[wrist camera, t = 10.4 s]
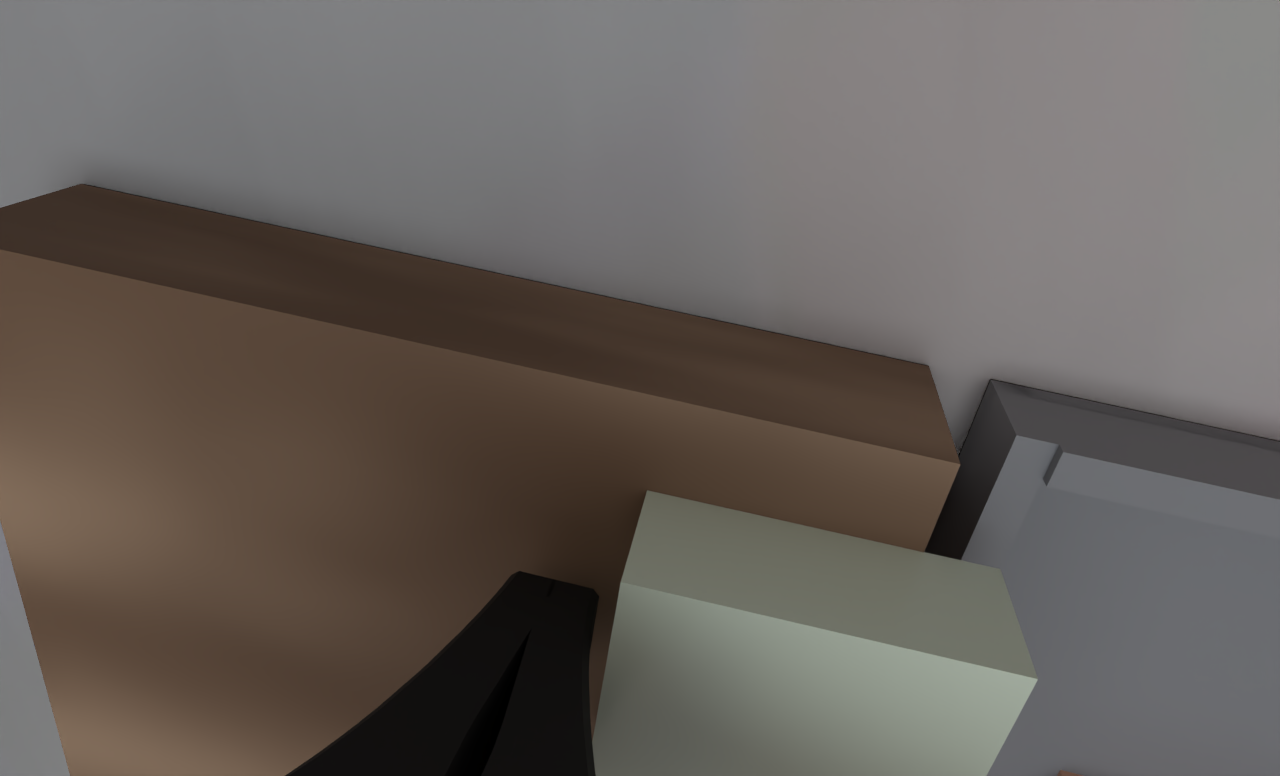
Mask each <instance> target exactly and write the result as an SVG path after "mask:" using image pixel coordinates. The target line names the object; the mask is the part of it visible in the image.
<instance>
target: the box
mask: <svg viewBox="0 0 1280 776" xmlns="http://www.w3.org/2000/svg"><path fill="white" fill-rule="evenodd" d="M959 461H960V464H961V465H960V467H959V469H958V472H957V474H956V477H955V479H954V482H953V484H952V486H951V489H950V491H949V494H948V496H947V498H946V501H945V503H944V506H943V508H942V510H941V513H940V515H939V518H938V520H937V522H936V525H935V527H934V530H933V532H932V535H931V537H930V539H929V542H928V544H927V547H926V549H925V551H924V552H926V553H930V554H935V555H939V556H944V557H948V558H953V559H957V560H962V561H966V562H971V563H975V564H980V565H984V566H989V567H993V568H998V569H1000V570H1001V572H1002V575H1003V578H1004V581H1005V584H1006V587H1007V590H1008V593H1009V596H1010V599H1011V602H1012V605H1013V608H1014V610H1015V613H1016V616H1017V619H1018V622H1019V625H1020V628H1021V631H1022V634H1023V637H1024V640H1025V643H1026V645H1027V648H1028V651H1029V654H1030V657H1031V660H1032V663H1033V666H1034V669H1035V672H1036V675H1037V678H1038V680H1037V682H1036V684H1035V686H1034V688H1033V690H1032V691H1031V693H1030V695H1029V697H1028V699H1027V701H1026V703H1025V705H1024V706H1023V708H1022V710H1021V712H1020V714H1019V716H1018V718H1017V720H1016V721H1015V723H1014V725H1013V727H1012V729H1011V731H1010V733H1009V734H1008V736H1007V738H1006V740H1005V742H1004V744H1003V746H1002V748H1001V749H1000V751H999V753H998V755H997V757H996V759H995V761H994V763H993V764H992V766H991V768H990V770H989V772H988V774H987V776H1057V775H1058V773H1059V772H1060V770H1063V771H1067V772H1071V773H1075V774H1079V775H1083V776H1280V442H1279V441H1274V440H1269V439H1265V438H1260V437H1255V436H1251V435H1246V434H1241V433H1237V432H1232V431H1227V430H1223V429H1218V428H1214V427H1209V426H1204V425H1200V424H1195V423H1190V422H1186V421H1181V420H1176V419H1172V418H1167V417H1162V416H1158V415H1153V414H1148V413H1144V412H1139V411H1134V410H1130V409H1125V408H1121V407H1116V406H1111V405H1107V404H1102V403H1097V402H1093V401H1088V400H1083V399H1079V398H1074V397H1069V396H1065V395H1060V394H1055V393H1051V392H1046V391H1042V390H1037V389H1032V388H1028V387H1023V386H1018V385H1014V384H1009V383H1004V382H1000V381H995V380H990V383H989V385H988V387H987V390H986V392H985V395H984V397H983V400H982V402H981V404H980V407H979V409H978V412H977V414H976V417H975V419H974V421H973V424H972V426H971V429H970V431H969V434H968V436H967V438H966V441H965V443H964V446H963V448H962V451H961V453H960V455H959Z"/></svg>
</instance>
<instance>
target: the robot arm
mask: <svg viewBox="0 0 1280 776" xmlns="http://www.w3.org/2000/svg"><path fill="white" fill-rule="evenodd" d="M598 602H599V595H598V594H597V593H596V592H595V590H594V589H592V588H588V587H584V586H580V585H576V584H572V583H567V582H563V581H559V580H555V579H551V578H547V577H543V576H538V575H534V574H530V573H526V572H522V571H518V572H516V573H514V574H512V575H511V576H510V577H509V578H508V580H507V581H506V582H505V583H504V585H503V586H502V587H501V588H500V589H499V590H498V592H497V593H496V594H495V595H494V596H493V597H492V599H491V600H490V601H489V602H488V603H487V604H486V605H485V606H484V607H483V608H482V610H481V611H480V612H479V613H478V614H477V615H476V616H475V617H474V618H473V619H472V620H471V621H470V622H469V623H468V624H467V625H466V626H465V627H464V629H463V630H462V631H461V632H460V633H459V634H458V635H456V636H455V637H454V638H453V639H452V640H451V641H450V642H449V643H448V644H447V645H446V646H445V647H444V648H443V649H442V650H441V651H440V652H439V653H438V654H437V655H436V656H435V657H434V658H433V659H432V660H431V661H430V662H429V663H428V664H427V665H425V666H424V667H423V668H422V669H421V670H420V671H419V672H418V673H417V674H415V675H414V676H413V677H412V678H411V679H410V680H409V681H407V682H406V683H405V684H404V685H403V686H402V687H400V688H399V689H398V690H397V691H396V692H395V693H394V694H392V695H391V696H390V697H389V698H388V699H387V700H386V701H384V702H383V703H382V704H381V705H380V706H378V707H377V708H376V709H375V710H374V711H372V712H371V713H370V714H369V715H367V716H366V717H365V718H364V719H362V720H361V721H360V722H359V723H357V724H356V725H355V726H353V727H352V728H351V729H350V730H348V731H347V732H346V733H344V734H343V735H342V736H340V737H339V738H338V739H336V740H335V741H334V742H332V743H331V744H330V745H328V746H327V747H325V748H324V749H323V750H321V751H320V752H319V753H317V754H316V755H314V756H313V757H312V758H310V759H309V760H307V761H306V762H304V763H303V764H301V765H300V766H298V767H297V768H295V769H294V770H292V771H291V772H289V773H288V774H287V775H285V776H596V774H595V765H594V755H593V745H592V734H591V720H590V693H589V658H590V648H591V643H592V637H593V631H594V625H595V619H596V613H597V607H598Z"/></svg>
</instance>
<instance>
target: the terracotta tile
mask: <svg viewBox="0 0 1280 776" xmlns="http://www.w3.org/2000/svg"><path fill="white" fill-rule="evenodd" d="M1057 776H1083V775H1079V774H1075V773H1071V772H1067V771H1063V770H1060V772H1059V773H1058V775H1057Z"/></svg>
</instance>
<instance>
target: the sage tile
mask: <svg viewBox="0 0 1280 776" xmlns="http://www.w3.org/2000/svg"><path fill="white" fill-rule="evenodd" d="M1037 680H1038V678H1037V675H1036V672H1035V669H1034V666H1033V663H1032V660H1031V657H1030V654H1029V651H1028V648H1027V645H1026V643H1025V640H1024V637H1023V634H1022V631H1021V628H1020V625H1019V622H1018V619H1017V616H1016V613H1015V610H1014V608H1013V605H1012V602H1011V599H1010V596H1009V593H1008V590H1007V587H1006V584H1005V581H1004V578H1003V575H1002V572H1001V570H1000V569H998V568H993V567H989V566H984V565H980V564H975V563H971V562H966V561H962V560H957V559H953V558H948V557H944V556H939V555H935V554H930V553H926V552H920V551H915V550H911V549H906V548H902V547H898V546H893V545H889V544H884V543H880V542H875V541H871V540H866V539H862V538H858V537H853V536H849V535H844V534H840V533H835V532H831V531H826V530H822V529H818V528H813V527H809V526H804V525H800V524H795V523H791V522H786V521H782V520H778V519H773V518H769V517H764V516H760V515H755V514H751V513H746V512H742V511H738V510H733V509H729V508H724V507H720V506H715V505H711V504H706V503H702V502H697V501H693V500H688V499H684V498H679V497H675V496H670V495H666V494H661V493H657V492H652V491H648V490H647V492H646V496H645V499H644V503H643V506H642V510H641V513H640V517H639V520H638V524H637V527H636V531H635V534H634V538H633V541H632V545H631V548H630V552H629V555H628V559H627V562H626V565H625V569H624V572H623V576H622V579H621V583H620V589H619V595H618V600H617V606H616V611H615V617H614V623H613V628H612V634H611V639H610V645H609V651H608V656H607V662H606V668H605V673H604V679H603V684H602V690H601V696H600V701H599V707H598V712H597V718H596V724H595V729H594V735H593V740H592V745H593V755H594V765H595V774H596V776H987V774H988V772H989V770H990V768H991V766H992V764H993V763H994V761H995V759H996V757H997V755H998V753H999V751H1000V749H1001V748H1002V746H1003V744H1004V742H1005V740H1006V738H1007V736H1008V734H1009V733H1010V731H1011V729H1012V727H1013V725H1014V723H1015V721H1016V720H1017V718H1018V716H1019V714H1020V712H1021V710H1022V708H1023V706H1024V705H1025V703H1026V701H1027V699H1028V697H1029V695H1030V693H1031V691H1032V690H1033V688H1034V686H1035V684H1036V682H1037Z"/></svg>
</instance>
